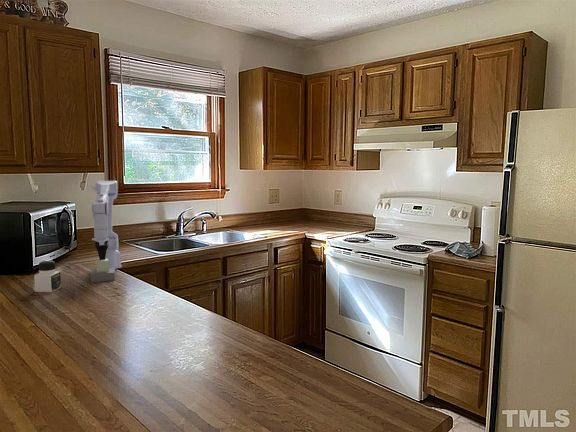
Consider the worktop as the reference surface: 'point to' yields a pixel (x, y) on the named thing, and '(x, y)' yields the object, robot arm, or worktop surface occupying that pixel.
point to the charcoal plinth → (102, 275)
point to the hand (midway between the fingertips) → (102, 258)
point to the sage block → (102, 265)
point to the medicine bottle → (47, 277)
